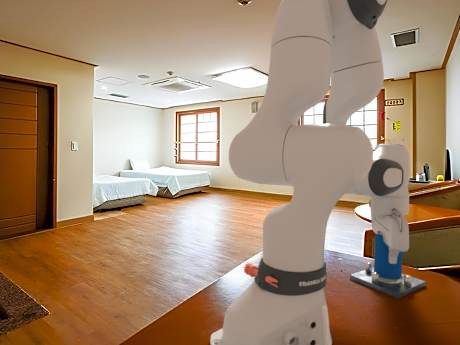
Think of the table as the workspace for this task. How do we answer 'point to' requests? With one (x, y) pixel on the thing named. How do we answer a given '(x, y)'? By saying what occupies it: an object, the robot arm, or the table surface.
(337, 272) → the table surface
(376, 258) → the beverage can
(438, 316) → the table surface
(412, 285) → the plate
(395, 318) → the table surface
